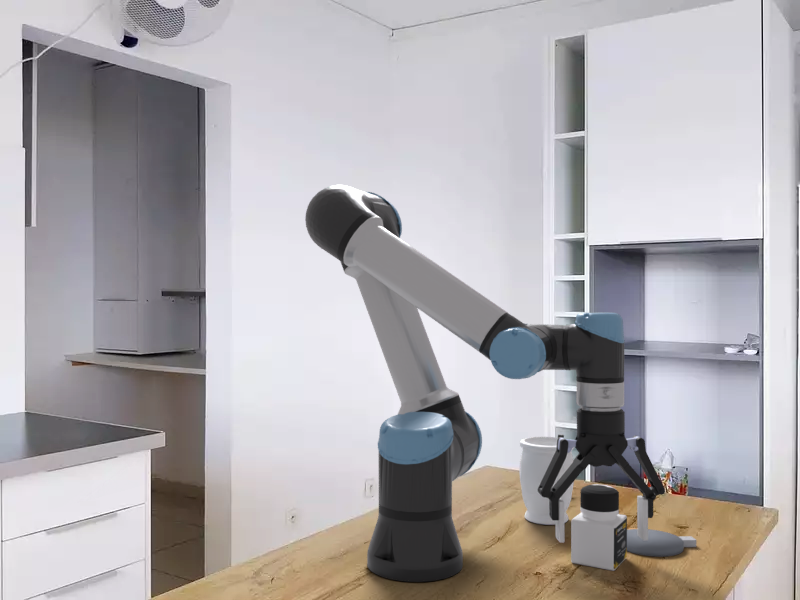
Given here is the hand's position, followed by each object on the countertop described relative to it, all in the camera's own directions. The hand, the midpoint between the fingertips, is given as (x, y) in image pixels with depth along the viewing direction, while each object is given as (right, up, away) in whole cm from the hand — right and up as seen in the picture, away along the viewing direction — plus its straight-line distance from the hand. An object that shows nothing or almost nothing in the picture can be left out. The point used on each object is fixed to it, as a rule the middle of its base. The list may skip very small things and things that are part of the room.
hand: (601, 539), depth 125 cm
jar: (-5, -4, +23) cm, 24 cm away
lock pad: (+10, -3, +9) cm, 14 cm away
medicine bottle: (0, -4, 0) cm, 4 cm away
